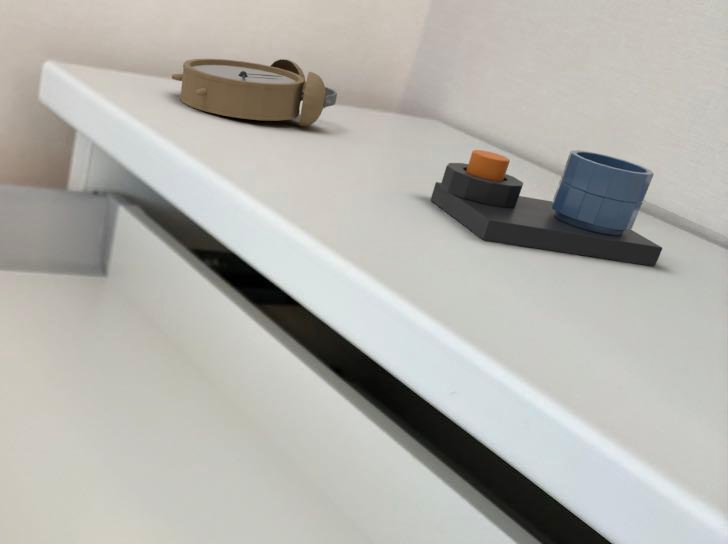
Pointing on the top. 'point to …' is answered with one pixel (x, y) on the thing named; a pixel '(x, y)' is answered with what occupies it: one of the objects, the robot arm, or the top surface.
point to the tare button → (488, 165)
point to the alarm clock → (254, 90)
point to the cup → (600, 192)
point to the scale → (529, 219)
